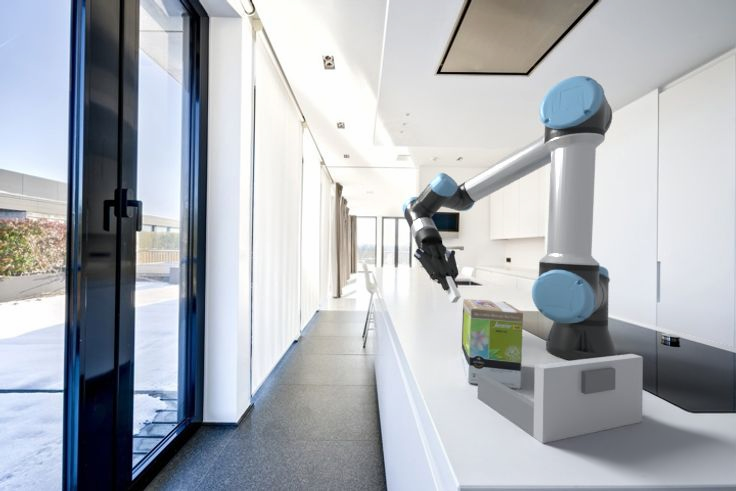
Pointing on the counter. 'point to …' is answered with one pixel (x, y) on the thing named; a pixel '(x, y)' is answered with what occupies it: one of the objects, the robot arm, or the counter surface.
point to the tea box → (492, 341)
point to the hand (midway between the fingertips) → (455, 299)
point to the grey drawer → (572, 397)
